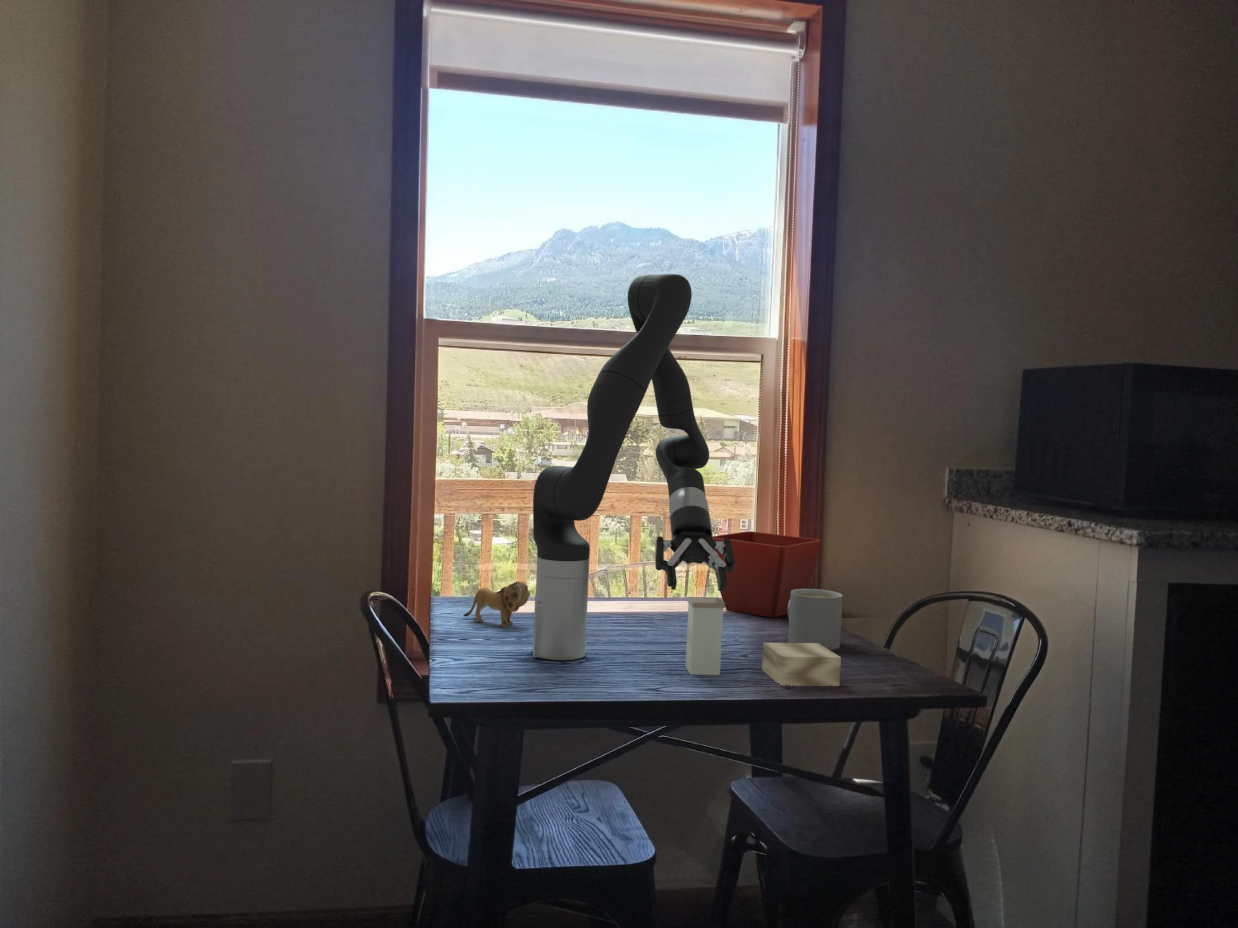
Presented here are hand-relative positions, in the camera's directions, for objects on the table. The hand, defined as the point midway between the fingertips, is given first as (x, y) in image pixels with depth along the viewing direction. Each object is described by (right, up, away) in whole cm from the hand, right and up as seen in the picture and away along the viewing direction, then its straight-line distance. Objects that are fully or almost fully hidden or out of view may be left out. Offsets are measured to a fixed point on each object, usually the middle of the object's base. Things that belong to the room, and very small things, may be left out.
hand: (698, 587), depth 167 cm
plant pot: (+19, -12, +50) cm, 54 cm away
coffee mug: (+24, -13, +19) cm, 33 cm away
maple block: (+16, -14, -9) cm, 23 cm away
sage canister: (0, -13, -7) cm, 15 cm away
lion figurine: (-39, -10, +24) cm, 46 cm away
